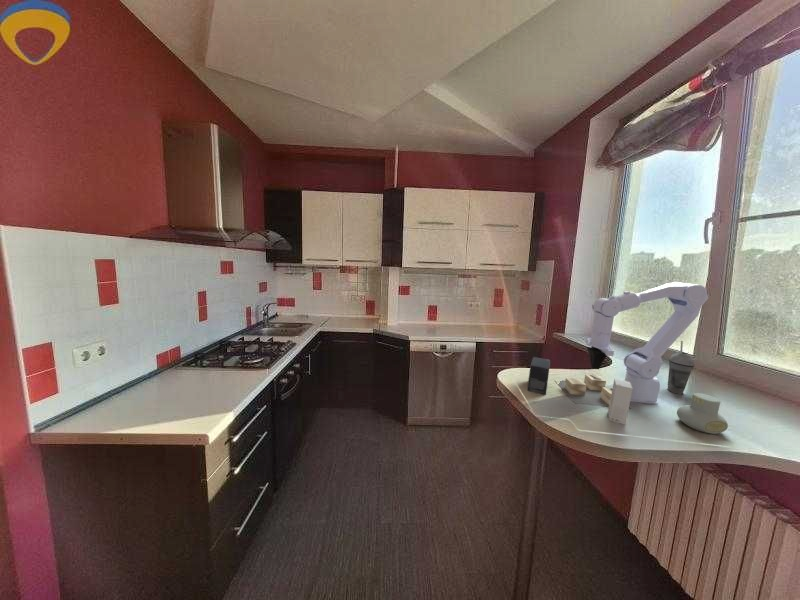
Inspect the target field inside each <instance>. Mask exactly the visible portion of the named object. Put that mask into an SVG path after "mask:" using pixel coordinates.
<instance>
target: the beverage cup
mask: <svg viewBox="0 0 800 600" xmlns="http://www.w3.org/2000/svg"><path fill="white" fill-rule="evenodd" d="M683 342H684V341H683V340H681V341H680V352H675V353H673V354H672V355H671V356H670V357H669V360H668V366H669V369H668V378H667V391H669V392H671V393H675V394H680V395H683V394H684V392H685V389H686V386H687V384H688V381H689V379H690V375H691V373H692V371H693V370H694V367H695V360H694V358H693V357H692V356H691V355H690V354H689V353H687V352H683V347H684V346H683V344H684V343H683Z"/></svg>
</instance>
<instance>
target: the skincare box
mask: <svg viewBox="0 0 800 600" xmlns="http://www.w3.org/2000/svg"><path fill="white" fill-rule="evenodd" d="M613 379H614V381H613V385H612V388H613V389H612V394H611V399H610V404H609V407H608V410H607V416H608V421H612V422H614V423H619V424H623V425H626V423H627V419H628V418H627V417H628V413H629V410H630V409H629V407H630V403H631V401H630V399H631V394H632V389H633V388H632V386H631V383H630V382H628V381H625V380H622V379H620V378H619V379H618V378H613Z"/></svg>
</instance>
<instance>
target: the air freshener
mask: <svg viewBox="0 0 800 600" xmlns="http://www.w3.org/2000/svg"><path fill="white" fill-rule="evenodd" d="M720 406H721V401H720V400H719V399H718V398H716V397H714V396H712V395H708V394H706V393H701V392H700V393H699V392H694V393H692V396H691V400H690V404H685V405H682V406H679V407H678V408H677V410H676V415H677V418H678V419H679V420H680V421H681V422H682V423H683V424H684V425H686V426H688V427H689V428H691V429H693V430H696V431H699V432H701V433H705V434H714V435H715V434H721V433H723V432H725V431H727V430H728V427H729V425H728V422H727V420H726V419H725V418H724V416H722V415H721V414H720V413H719V410H720Z"/></svg>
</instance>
